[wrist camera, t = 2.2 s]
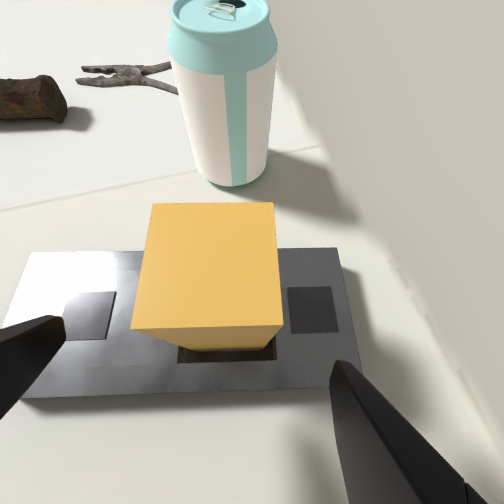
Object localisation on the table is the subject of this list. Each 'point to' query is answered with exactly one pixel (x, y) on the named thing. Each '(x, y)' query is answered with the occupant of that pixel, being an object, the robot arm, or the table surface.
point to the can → (225, 84)
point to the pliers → (127, 76)
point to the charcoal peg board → (168, 354)
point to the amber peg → (210, 277)
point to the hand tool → (32, 99)
